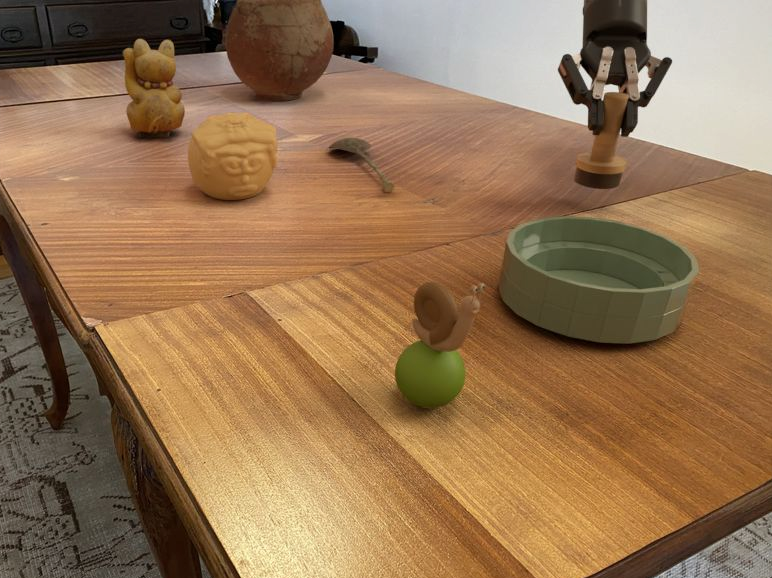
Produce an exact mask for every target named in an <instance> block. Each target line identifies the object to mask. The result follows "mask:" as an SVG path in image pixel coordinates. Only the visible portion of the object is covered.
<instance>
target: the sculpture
mask: <svg viewBox="0 0 772 578" xmlns="http://www.w3.org/2000/svg"><path fill="white" fill-rule="evenodd" d="M277 137H278V136H277V129H276V127H275V126H274V125H273V124H271V123H268V122H266V121H264V120H262V119H260V118H257V117H255V116H253V115H252V113H250V112H243V113H235V112H232V111H228V112H226V113H224V114H218V115H214V114H213V115H209V116H208V117H207V118H206V120H205V121H203V122H202V123H200V124H199V125H198V126H197V127H196V129H194V130H193V132H191V138H190V140H189V143H188V150H187V163H188V169H189V172H190V175H191V177H192V180H193V182H194V183H195V185H196V186H197V187H198V189H199V190H200V191H201V192H203V194H205V195H207V196H209V197H212V198H214V199H218V200H221V201H222V200H224V201H238V200H246V199H250V198H254V197H255V196H257V195H259V194H260V193H261V192H263V190H264V189H265V188H266V187H267V185H268V184H269V182H270V180H271V178H272V175H273V173H274V170H275V168H276V167H277V166H278V156H277V155H278V138H277Z"/></svg>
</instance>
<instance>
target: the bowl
mask: <svg viewBox="0 0 772 578" xmlns="http://www.w3.org/2000/svg"><path fill="white" fill-rule="evenodd" d="M501 263H502V264H501V268H500V275H499V280H498V286H497V289H498V292H499V295H500V297H501V300H502V302H503V303H504V304H505V305H506V306H508V307H509V308H510V309H511V311H512V312H513V313H514V314H516V315H517V316H519V317H521V318H522V319H524V320H526V321H528V322H530V323H532V324H533V325H535V326H537V327H539V328H542V329H545V330H547V331H551V332H553V333H555V334H559V335H562V336H565V337H569V338H573V339H578V340H585V341H589V342H595V343H603V344H629V345H630V344H637V343H645V342H650V341H655V340H658V339H660V338H663V337H665V336H668V335H670V334H672V333H675V331H676V330H677V329H678V327H679V326H680V324H681V323H682V322H683V321H684V317H685V314H686V311H687V308H688V305H689V302H690V300H691V297H692V294H693V290H694V287H695V285H696V281H697V280H698V279H697V278H698V275H699V273H700V269H699V263H698V258H697V257H696V256H695V255H694V254H692V252H691V251H689V249H688V248H687V247H686V246H684V245H682V244H681V243H679V242H677V241H675V240H674V239H672V238H670V237H668V236H666V235H664V234H661V233H659V232H655V231H653V230H651V229H648V228H645V227H642V226H639V225H635V224H631V223H626V222H623V221H618V220H613V219H606V218H599V217H591V216H567V215H565V216H563V215H562V216H551V217H540V218H537V219H536V218H535V219H533V220H530V221H525V222H522V223H520V224H519V225H517V226H516V227H514V228H513V229H511V230H510V231H509V233H508V235H507V238H506V241H505V246H504V251H503V258H502V262H501Z"/></svg>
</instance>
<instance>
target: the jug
mask: <svg viewBox="0 0 772 578" xmlns="http://www.w3.org/2000/svg"><path fill="white" fill-rule="evenodd" d="M235 2H236V3H235V4H234V7H233V9H232V11H231V13H230V16H229V19H228V21H227V25H226V31H225V41H224V42H225V51H226V56H227V60H228V61H229V64H230V67H231V68H232V71H233V73H234V74H235V76H236V77H237V78H238V79H239V80H240V82H241V83H242V84H243V85H245V86H246V87H248V88H249V89H250V90H251V91H254V92H255V96H256V97H257V98H258V99H260V100H263V101H272V102H273V101H275V102H277V101H278V102H285V101H286V102H287V101H293V100H298V99H300V98H301V97H302V96H303V92H304V91H306V90H307V89H309V88H310V87H312V86H313V85H314V84H316V83H317V82H318V80H319V79H321V77H322V76H323V75H324V73H325V72H326V70H327V68H328V66H329V65H330V61H331V59H332V58H333V57H332V56H333V52H334V46H335V42H334V33H333V28H332V24H331V21H330V18H329V15H328V13H327V11H326V9H325V7H324V5H323V3H322V0H236V1H235Z"/></svg>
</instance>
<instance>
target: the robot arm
mask: <svg viewBox="0 0 772 578" xmlns="http://www.w3.org/2000/svg"><path fill="white" fill-rule="evenodd" d="M582 16H583V17H582V18H583V19H582V47H581V49H580V51H579V53H576V54H574V55H571V54H570V53H565V54H563V55H562V57H561V60H560V62H559V65H558V67H557V73H558V74H559V76H560V78H561V81H562V83H563V85H564V86H565V89H566V91H567V93H568V95H569V97H570V99H571V101H572V103H573V104H574V105H576V106H578V105H584V106H586V108H587V129H588V131H591V132H592V136H595V135H598V136H599V134H600V133H601V131H602V129H603V124H604V100H603V97H604V93H605V92H604V91H605V87H606V86H609V85H612V86H616V87H617V90H618V92H619V93H625V94H627V95H629V97H628V101H627V105H626V109H625V114H624V118H623V122H622V126H621V130H620V137H622V138H628V137H629V135H630V134H631V133H633V132H634V131H635V129H636V127H637V125H638V123H639V108H646V107H648V105H649V104H650V102H651V100H652V98H654V96H655V94H656V93H657V91H658V89H659V88H660V86H661V84H662V82H663V80H664V78H665V76H666V75H667V73H668V71H669V69H670V68H671V66H672V64H673V59H672V58H671V57H669V56H666V57H663V58H662V59H661V58H658V57H655V56H653V55H652V52H651V49H650V47H649V46H648V43H647V42H648V0H583V7H582ZM645 67H646V68H647V77H648V79H650V80H649V82H647V85H646V87H645V89H644V90H642V91H640V89H639V80H640V79H639V78H640V77H639V73H641V71H642V70H643V69H644V68H645ZM580 68H582V69H583V70H584V72H586V74H587V75H588V76H589V77H590V79H591V83H590V88H589V87H588V85H587V84H586V82H585V80H584V78H583V75H582V73H581V71H580Z"/></svg>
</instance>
